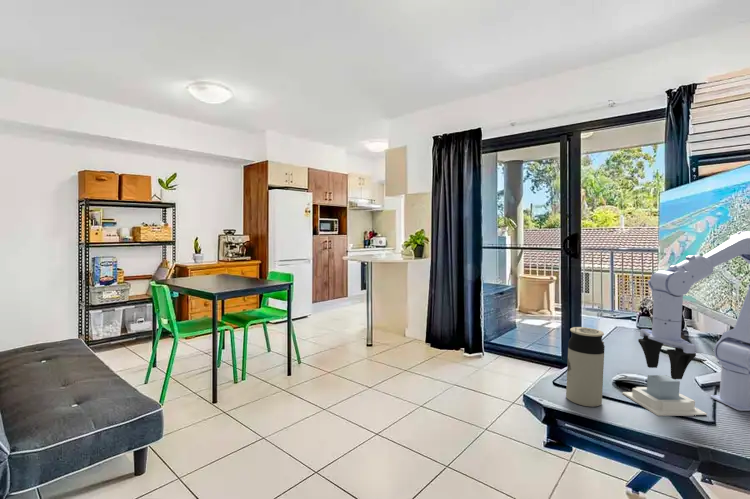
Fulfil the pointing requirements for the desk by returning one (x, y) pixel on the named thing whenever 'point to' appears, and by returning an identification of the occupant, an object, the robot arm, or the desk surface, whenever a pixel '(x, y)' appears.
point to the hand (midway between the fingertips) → (664, 372)
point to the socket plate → (664, 404)
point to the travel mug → (585, 366)
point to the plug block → (663, 387)
